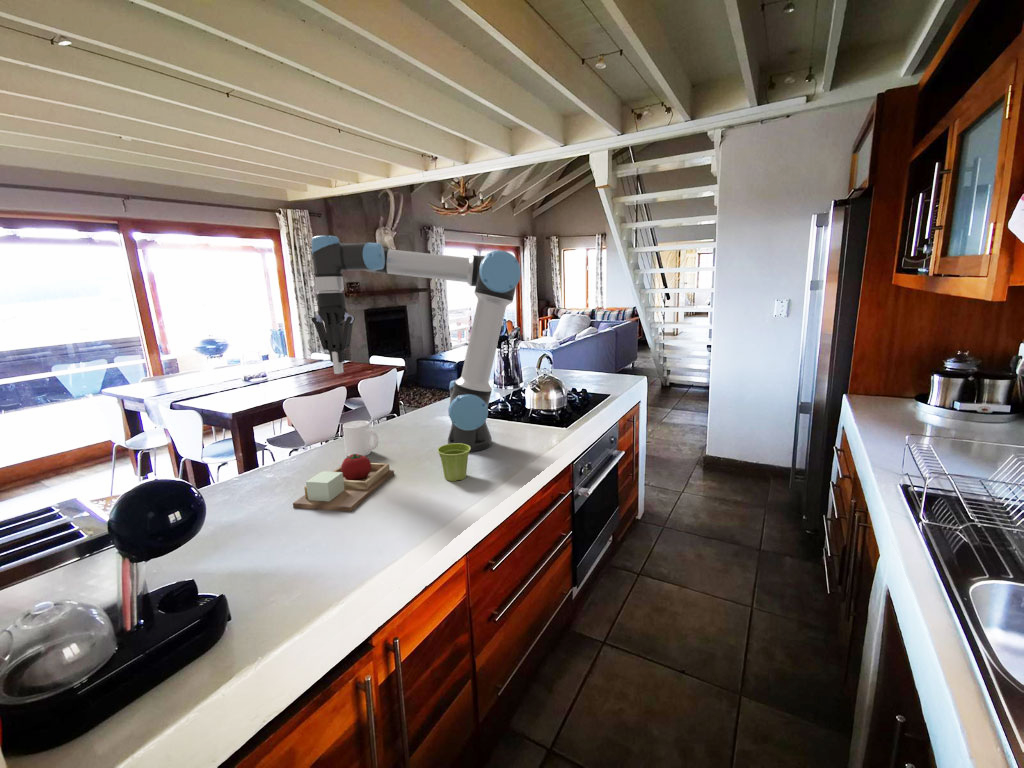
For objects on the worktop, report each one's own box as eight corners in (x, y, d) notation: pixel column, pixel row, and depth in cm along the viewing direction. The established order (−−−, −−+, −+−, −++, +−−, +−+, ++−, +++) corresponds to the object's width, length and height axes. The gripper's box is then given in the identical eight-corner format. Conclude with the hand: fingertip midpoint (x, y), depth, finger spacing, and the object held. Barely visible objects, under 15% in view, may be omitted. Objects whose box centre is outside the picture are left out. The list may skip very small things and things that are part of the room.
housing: (344, 490, 125) (342, 472, 124) (329, 501, 118) (327, 482, 117) (324, 488, 126) (322, 471, 125) (308, 500, 119) (305, 481, 118)
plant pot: (477, 472, 137) (475, 444, 135) (463, 485, 128) (462, 455, 127) (448, 469, 140) (446, 442, 138) (433, 482, 131) (431, 452, 130)
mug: (386, 451, 158) (383, 422, 156) (371, 460, 150) (368, 429, 148) (356, 448, 162) (353, 419, 160) (340, 456, 154) (337, 426, 152)
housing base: (394, 474, 138) (392, 460, 137) (351, 511, 115) (349, 495, 114) (344, 471, 141) (343, 458, 140) (293, 507, 118) (291, 492, 117)
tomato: (376, 477, 133) (374, 453, 131) (350, 486, 127) (347, 461, 126) (362, 470, 138) (359, 447, 137) (336, 478, 133) (333, 454, 131)
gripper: (357, 291, 137) (365, 371, 142) (317, 292, 140) (326, 370, 144) (344, 291, 130) (352, 375, 135) (302, 293, 132) (311, 375, 137)
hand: (338, 373), depth 139 cm, fingers closed
